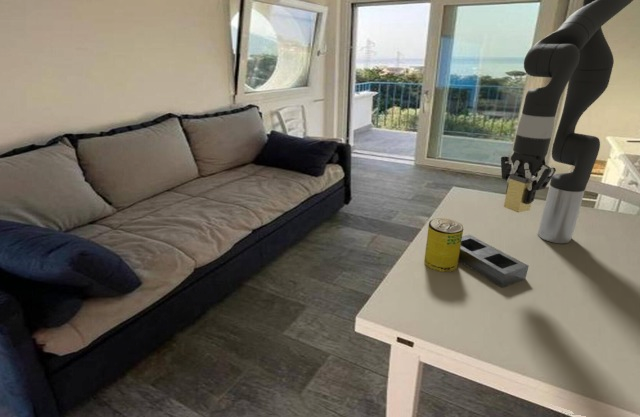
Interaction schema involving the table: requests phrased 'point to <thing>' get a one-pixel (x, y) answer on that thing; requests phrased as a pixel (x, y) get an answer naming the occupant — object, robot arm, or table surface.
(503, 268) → the cinder block
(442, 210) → the table surface
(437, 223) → the beverage can
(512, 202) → the tan banded block
